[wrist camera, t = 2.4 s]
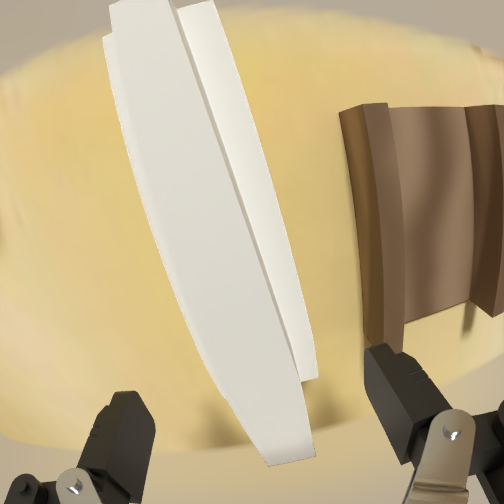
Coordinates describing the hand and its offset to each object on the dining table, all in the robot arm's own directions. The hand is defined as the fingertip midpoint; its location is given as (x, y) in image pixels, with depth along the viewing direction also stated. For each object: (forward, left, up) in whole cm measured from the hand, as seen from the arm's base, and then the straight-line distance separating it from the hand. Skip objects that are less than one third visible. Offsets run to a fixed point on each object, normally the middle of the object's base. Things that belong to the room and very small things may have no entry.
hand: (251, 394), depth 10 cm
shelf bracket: (0, -1, -12) cm, 12 cm away
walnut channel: (-14, -1, -11) cm, 18 cm away
